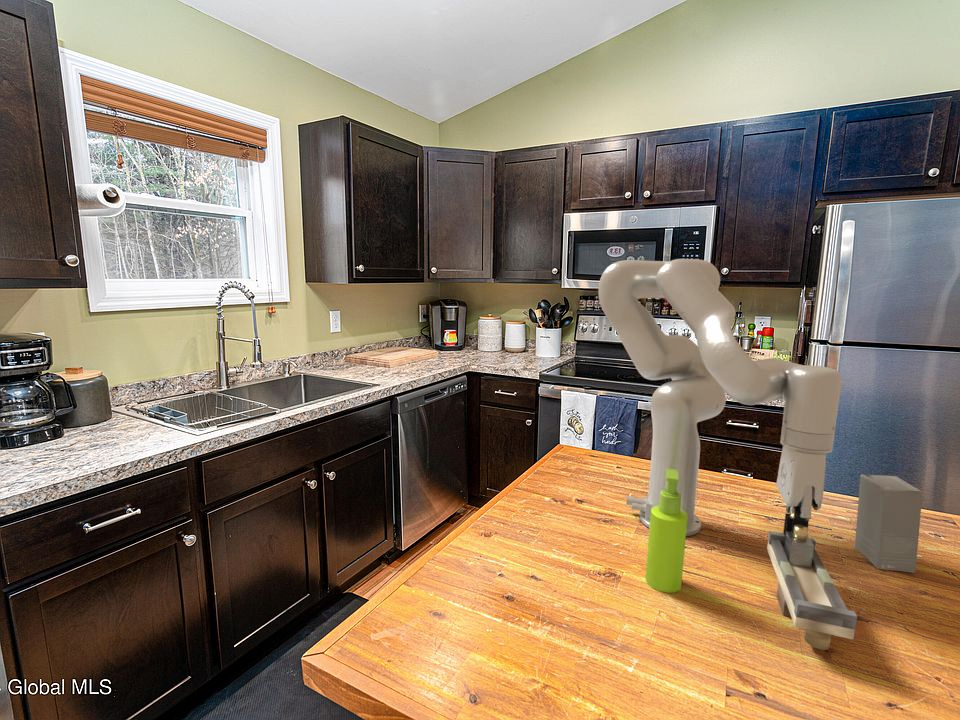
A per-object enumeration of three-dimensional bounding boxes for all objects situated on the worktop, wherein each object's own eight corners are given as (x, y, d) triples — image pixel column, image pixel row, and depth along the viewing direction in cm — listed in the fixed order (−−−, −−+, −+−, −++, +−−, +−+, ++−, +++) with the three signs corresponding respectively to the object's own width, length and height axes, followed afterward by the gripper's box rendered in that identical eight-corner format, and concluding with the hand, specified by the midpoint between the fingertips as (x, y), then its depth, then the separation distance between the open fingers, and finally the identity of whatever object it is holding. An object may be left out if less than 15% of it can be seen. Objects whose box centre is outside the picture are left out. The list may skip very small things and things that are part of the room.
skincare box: (916, 574, 91) (930, 493, 88) (871, 569, 92) (884, 489, 89) (888, 550, 99) (901, 474, 96) (848, 545, 100) (859, 471, 97)
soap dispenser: (680, 573, 90) (689, 468, 87) (682, 595, 83) (692, 483, 80) (646, 566, 92) (654, 463, 88) (645, 588, 85) (654, 478, 82)
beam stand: (791, 651, 71) (797, 604, 70) (764, 568, 92) (769, 530, 90) (849, 665, 69) (857, 616, 68) (808, 577, 89) (814, 538, 88)
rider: (788, 564, 83) (793, 531, 82) (783, 552, 87) (787, 520, 86) (810, 568, 82) (815, 535, 81) (804, 556, 86) (809, 523, 85)
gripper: (772, 424, 93) (762, 515, 96) (791, 449, 79) (779, 555, 82) (819, 428, 90) (807, 522, 93) (847, 455, 77) (832, 564, 80)
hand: (794, 537), depth 88 cm, fingers closed
